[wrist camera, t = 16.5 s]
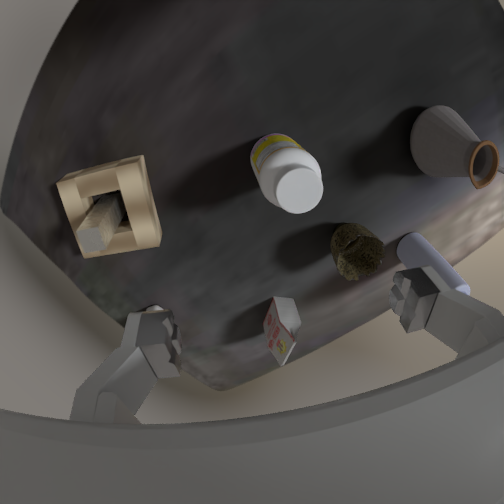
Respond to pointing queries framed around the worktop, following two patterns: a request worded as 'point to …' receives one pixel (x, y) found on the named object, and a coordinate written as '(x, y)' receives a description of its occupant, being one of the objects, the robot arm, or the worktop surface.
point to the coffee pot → (452, 148)
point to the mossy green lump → (355, 250)
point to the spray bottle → (429, 260)
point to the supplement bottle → (286, 173)
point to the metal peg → (101, 223)
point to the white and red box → (281, 327)
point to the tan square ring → (134, 195)
